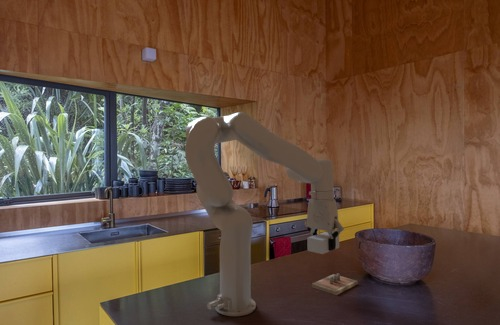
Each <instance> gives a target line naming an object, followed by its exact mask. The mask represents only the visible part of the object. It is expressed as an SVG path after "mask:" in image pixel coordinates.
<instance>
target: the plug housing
mask: <svg viewBox="0 0 500 325" xmlns="http://www.w3.org/2000/svg"><path fill="white" fill-rule="evenodd" d="M328 239H330V237H329V234H328V231H326V232H325V231H324V232H321V233H320V232H319V233H317V235H314V236H312V235H311V236H309V237H307V238H306V240H307V242H306V244H307V252H311V253H316V254H321V255H324V254H326V253H329V252H331V251H329V246H328ZM339 248H340V234H339V235H338V236H337V238H336V247H335V249H334V250H337V249H339ZM334 250H333V251H334Z"/></svg>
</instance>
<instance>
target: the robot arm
mask: <svg viewBox="0 0 500 325" xmlns="http://www.w3.org/2000/svg"><path fill="white" fill-rule="evenodd" d="M185 136H186V141H185V145H184V146H185V149H184V154H185V160H186V164H187V167H188V168H189V171H190V172H191V174H192V177H193V178H194V180H195V182H196V190H195V191H196V194H197V196H198V197H197V198H198V199H199V200H200V203H201V205H202V207H204V210H205V212H206V213H207V215H208V216H209V218H210V220H211V221H212V223H213V224H214V226H215V227H216V228H217V229H218V230H220V231H221V233H220V234H221V236H220V243H219V294H217V295H216V296H217V298H216V299H215V300H212V301H210V302H208V303H206V307H207V309H208V310H213V309H215V311H216V312H217V313H218V314H220V315H223V316H227V317H242V316H246V315H250V314H251V313H252V312H254V311H255V310H256V307H257V304H256V301H255V300H254V299H253V298H252V296H251V295H252V294H251V293H252V292H251V288H252V286H251V279H252V278H251V276H252V275H251V272H252V271H251V270H252V269H251V268H252V266H251V261H252V259H251V258H252V257H251V255H252V254H251V253H252V252H251V251H252V250H251V248H252V247H251V245H252V235H253V228H254V222H253V218H252V216H251V214H250V212H249V211H248V210H247V209H246V208H244V207H242V206H240V205H238V204H236V203H235V201H234V200H233V198H234V189H233V186H232V183H231V182H230V180H229V179H228V177H227V175H226V173H225V172H224V169H223V168H222V167H221V165H220V163H219V161H218V158H217V156H216V152H215V148H216V147H215V146H216V144H221V143H227V142H232V141H237V142H239V143H240V144H241V145H243V146H245V147H246V148H247V149H248V150H250V151H252V152H253V153H254V154H256V155H257V156H259V157H260V158H262V159H264V160H266V161H268V162H272V163H274V164H278V165H281V166H282V167H285V168H286V171H285V172H286V176H288V178H289V179H290V180H292V181H294V182H298V183H307V184H310V191H309V192H308V195H309V196H310V197H311V198H309V199H308V203H307V204H308V205H307V214H306V215H307V216H306V220H305V221H304V222H303V224H304V226H305V227H306V228H307V230H308V232H309V234H310V235H311V236H314V235H317V234H319V230H320V231H324V232H325V231H326V232H327V233H328V234H329V237H330V239H328V246H329V251H330V252H332V251H334V249H335V247H336V238H337V236H338V235H339V236H340V234H341V233H342V232H343V231H344V230H345V228H344V226H343V225H342V224H341V222H340V221H339V213H338V212H339V211H338V205H337V202H336V199H335V198H334V197H335V192H334V191H335V188H334V186H335V185H334V163H333V161H332V160H331V159H328V158H326V159H325V158H322V159H321V158H319V159H316V158H315V157H314V156H312V155H311V154H310V153H309V152H307V151H305V150H304V149H302V148H301V147H299V146H297V145H296V144H294V143H291V142H289V141H288V140H286V139H284V138H282V137H280V136H278V135H277V134H275V133H274V132H273V131H272V130H270V129H269V128H267V127H266V126H264V125H263V124H262V123H261V122H259V121H257V119H255V118H254V117H253V116H251V115H249V114H248V113H245V112H244V111H238V112H234V113H231V114H229V115H228V114H227V115H223V116H217V117H211V116H207V115H204V116H200V117H197V118H196V119H194V120H192V121H190V122H189V123H188V125H187V126H186V128H185ZM335 250H336V249H335Z"/></svg>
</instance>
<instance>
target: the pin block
mask: <svg viewBox="0 0 500 325" xmlns="http://www.w3.org/2000/svg"><path fill="white" fill-rule="evenodd" d="M358 283H359V282H358V280H356V279H351V278H348V277H345V276H341V273H339V272H338V273H336V274H334V273H333V274H331V275H328V276H326V277H324V278H322V279H320V280H317V281H315V282H312V283H311V288H314V289H315V290H316V289H317V290H320V291H323V292H326V293H329V294H331V295H335V296H338V295H340V294H341V293H344V292H345V291H347V290H349V289H351V288H353V287H355V286H357V285H358Z"/></svg>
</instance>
